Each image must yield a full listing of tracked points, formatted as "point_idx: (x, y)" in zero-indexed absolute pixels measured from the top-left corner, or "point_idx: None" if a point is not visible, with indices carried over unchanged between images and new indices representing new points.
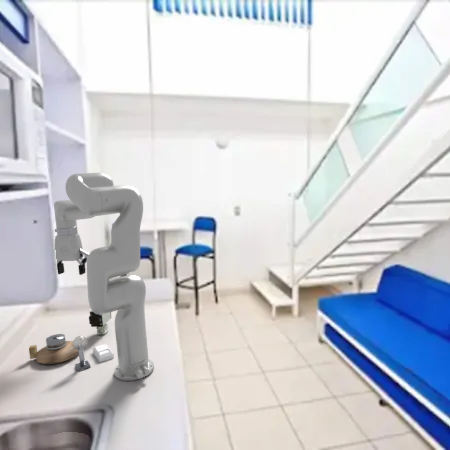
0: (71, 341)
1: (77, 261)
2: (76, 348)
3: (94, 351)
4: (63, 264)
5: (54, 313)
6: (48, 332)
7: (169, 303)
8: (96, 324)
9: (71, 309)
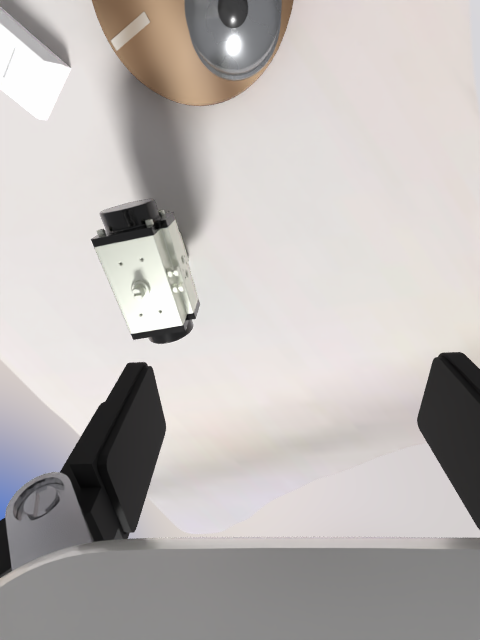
0: (200, 99)
1: (84, 543)
2: None
3: (35, 40)
4: (472, 515)
5: None
6: (403, 218)
7: None
8: (126, 204)
9: None
